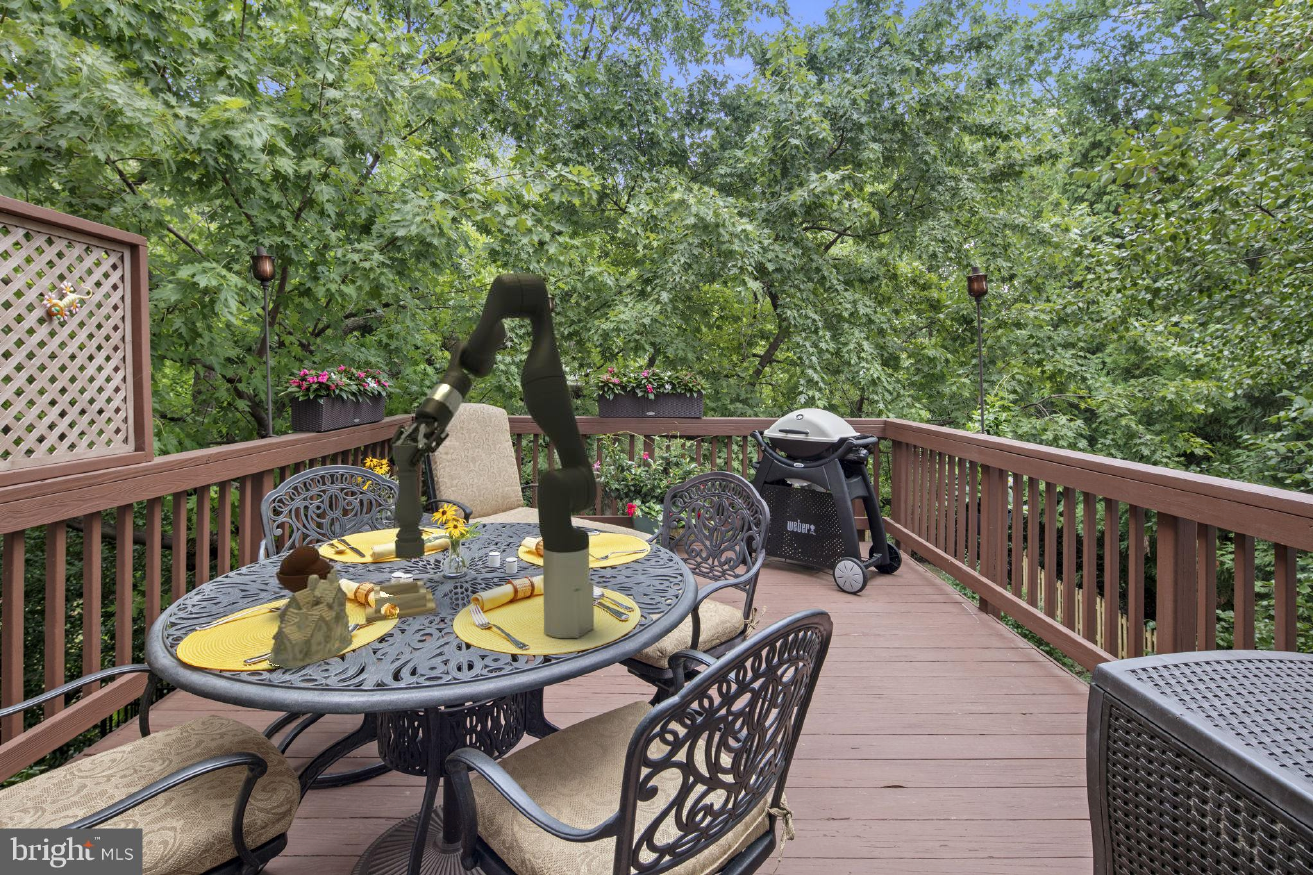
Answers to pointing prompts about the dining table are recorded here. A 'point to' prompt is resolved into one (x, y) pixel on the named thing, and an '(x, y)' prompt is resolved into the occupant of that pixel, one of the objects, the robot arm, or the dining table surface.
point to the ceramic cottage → (312, 624)
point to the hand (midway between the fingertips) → (400, 464)
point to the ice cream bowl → (302, 568)
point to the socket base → (402, 600)
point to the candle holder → (407, 505)
